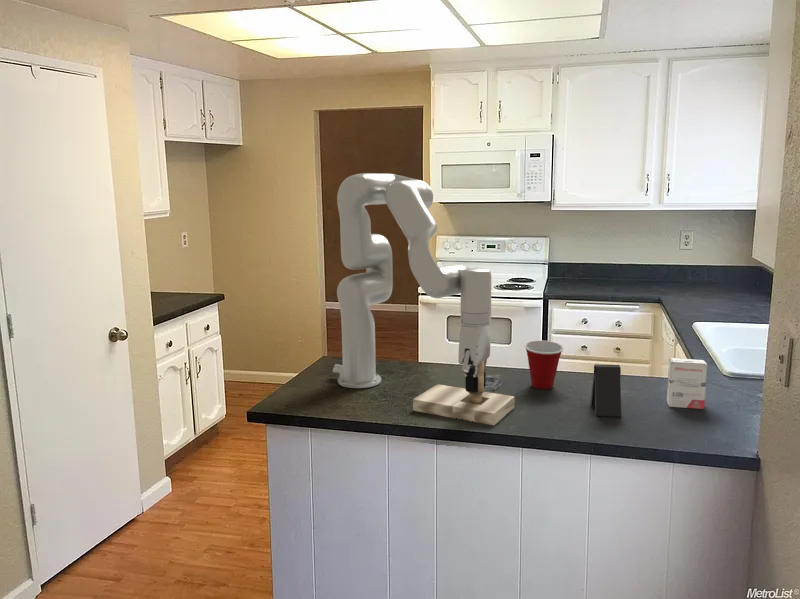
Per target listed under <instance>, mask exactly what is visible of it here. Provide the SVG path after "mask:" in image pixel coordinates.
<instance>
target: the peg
mask: <svg viewBox="0 0 800 599" xmlns="http://www.w3.org/2000/svg"><path fill="white" fill-rule="evenodd" d="M470 364H473V362H470ZM470 368H472V369H473V370H474V367H470ZM484 372H485V371H484V360H483V362H482V363H480V364H478V366H477V377H478V392H477V393H474V392H469V403H472V404H478V405H479V404H482V393H484V392H485V388H484Z"/></svg>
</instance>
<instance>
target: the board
mask: <svg viewBox="0 0 800 599" xmlns="http://www.w3.org/2000/svg"><path fill="white" fill-rule="evenodd" d="M514 409H515V396H513V395H507V394H503V393H495V392H493V393H489V391H484V393H482V404H479V405H478V404H472V403H469V392H468V391H466V388H465V387H457V386H449V385H445V384H435V385H434V386H432V387H431V388H429V389H427V390H426V391H424V392H423V393H421V394H419V395H417V396H416V397H414V398H412V410H413V411H414V412H419V413H425V414H430V415H437V416H441V417H446V418H452V419H456V418H457V419H458V420H462V419H463V421H467V420H468V422H472V421H473V422H474V423H477V424H478V423H479V424H484V425H488V426H495V425H497V423H499V422H500V421H501V420H503V418H505V416H507V415H508V413H511V412H512V410H514ZM506 414H507V415H506ZM457 419H456V420H457Z"/></svg>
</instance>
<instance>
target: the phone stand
mask: <svg viewBox="0 0 800 599" xmlns="http://www.w3.org/2000/svg"><path fill="white" fill-rule="evenodd" d="M593 365H594V366H593V377H592V387H591V393H590V394H591V395H590V401H589V405H591V406H590V408H591V407H592V408H591V409H592V411H593V414H594V415H595V417H596V416H601V417H604V418H622V398H621V397H622V396H621V393H622V392H621V390H622V389H621V374H622V372H621V371H622V370H621V366H620V364H599V363H597V364H596V363H595V364H593ZM601 417H600V418H601Z"/></svg>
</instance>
